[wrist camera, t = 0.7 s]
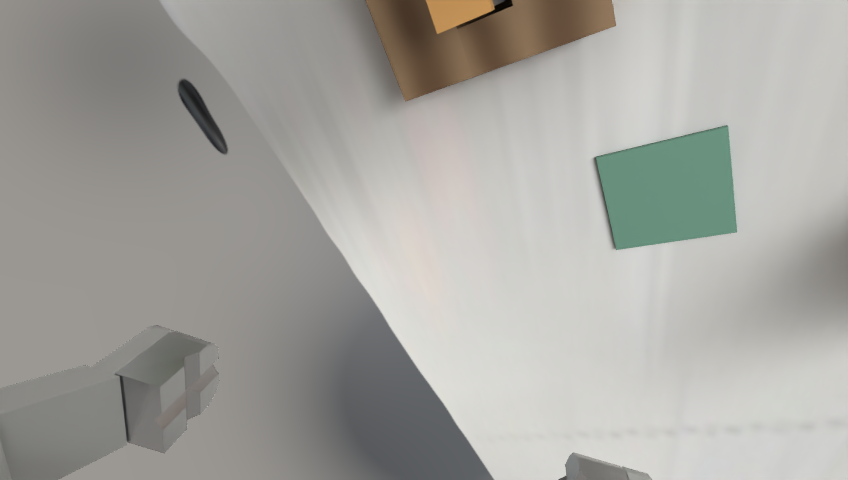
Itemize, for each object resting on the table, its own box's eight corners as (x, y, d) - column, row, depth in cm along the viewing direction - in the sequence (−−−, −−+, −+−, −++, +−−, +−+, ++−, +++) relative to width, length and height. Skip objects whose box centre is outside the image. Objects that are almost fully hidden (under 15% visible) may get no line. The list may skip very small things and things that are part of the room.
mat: (727, 125, 42) (728, 126, 42) (735, 230, 47) (736, 232, 46) (595, 156, 47) (595, 158, 47) (616, 248, 52) (616, 249, 52)
